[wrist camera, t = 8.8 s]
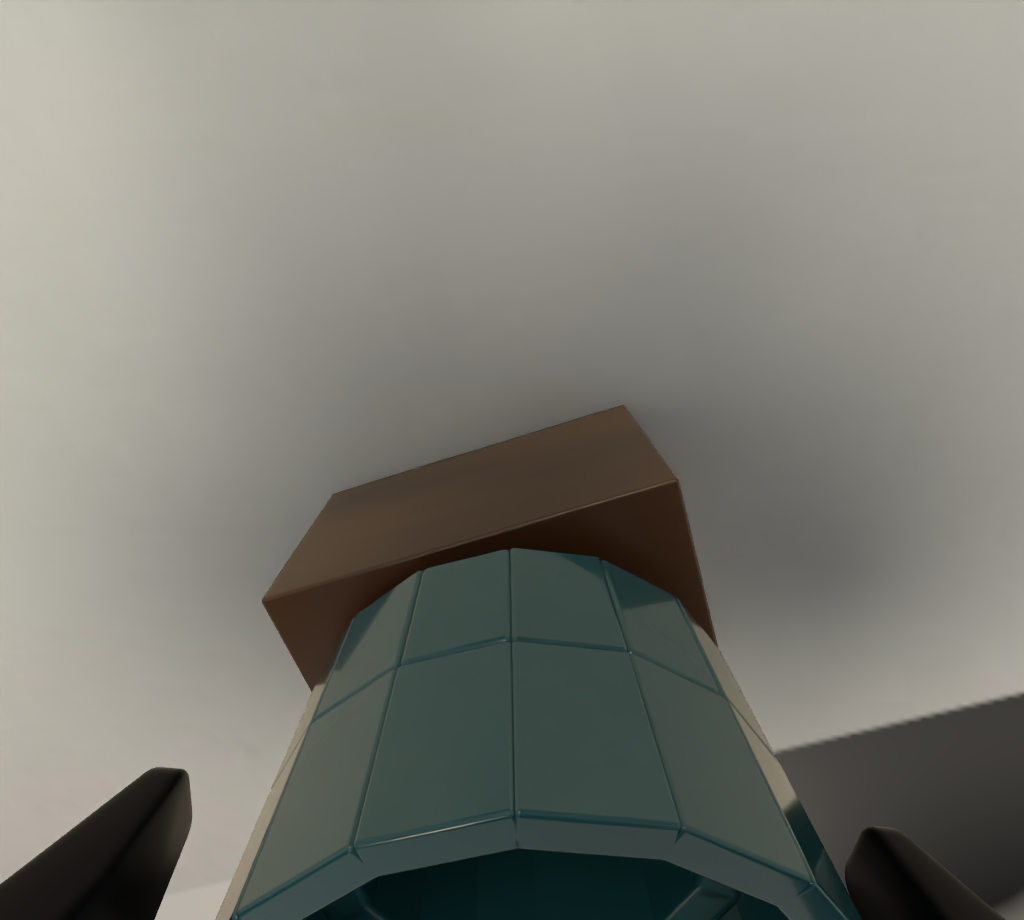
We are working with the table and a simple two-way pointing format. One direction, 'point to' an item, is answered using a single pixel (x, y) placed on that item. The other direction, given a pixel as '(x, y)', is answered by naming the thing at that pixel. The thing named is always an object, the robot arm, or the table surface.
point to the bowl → (531, 765)
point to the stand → (491, 525)
